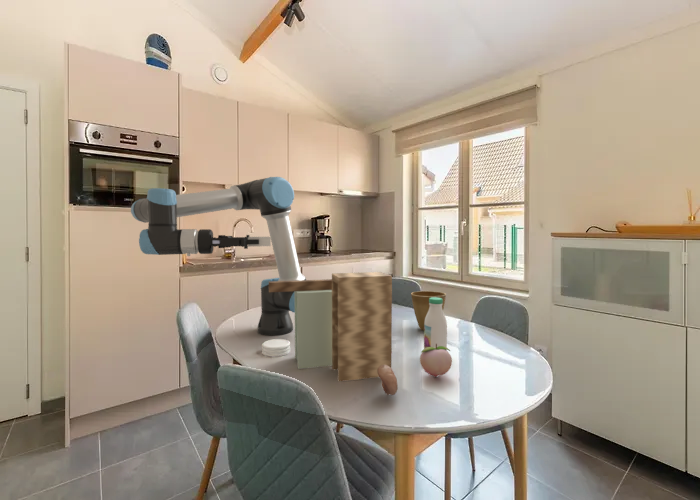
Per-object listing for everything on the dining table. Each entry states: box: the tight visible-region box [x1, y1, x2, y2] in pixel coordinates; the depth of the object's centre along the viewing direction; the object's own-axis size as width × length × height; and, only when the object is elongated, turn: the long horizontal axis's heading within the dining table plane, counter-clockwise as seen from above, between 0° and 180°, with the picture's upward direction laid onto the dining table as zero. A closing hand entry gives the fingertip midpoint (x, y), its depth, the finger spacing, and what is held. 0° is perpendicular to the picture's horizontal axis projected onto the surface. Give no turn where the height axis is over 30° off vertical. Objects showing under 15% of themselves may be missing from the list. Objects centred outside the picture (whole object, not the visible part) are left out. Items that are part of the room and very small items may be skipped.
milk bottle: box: [423, 297, 448, 349], centre depth 119 cm, size 8×8×20 cm
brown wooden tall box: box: [331, 271, 393, 382], centre depth 104 cm, size 16×10×30 cm, turn 104°
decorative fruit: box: [419, 344, 453, 378], centre depth 101 cm, size 9×8×10 cm
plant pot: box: [410, 290, 447, 332], centre depth 151 cm, size 15×15×16 cm
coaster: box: [261, 338, 291, 358], centre depth 123 cm, size 10×10×4 cm
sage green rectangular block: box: [294, 290, 332, 370], centre depth 113 cm, size 12×10×24 cm
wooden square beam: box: [269, 278, 332, 292], centre depth 112 cm, size 24×3×3 cm, turn 104°
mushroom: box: [377, 365, 399, 396], centre depth 89 cm, size 8×6×8 cm
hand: (270, 241), depth 110 cm, fingers open, 13 cm apart
